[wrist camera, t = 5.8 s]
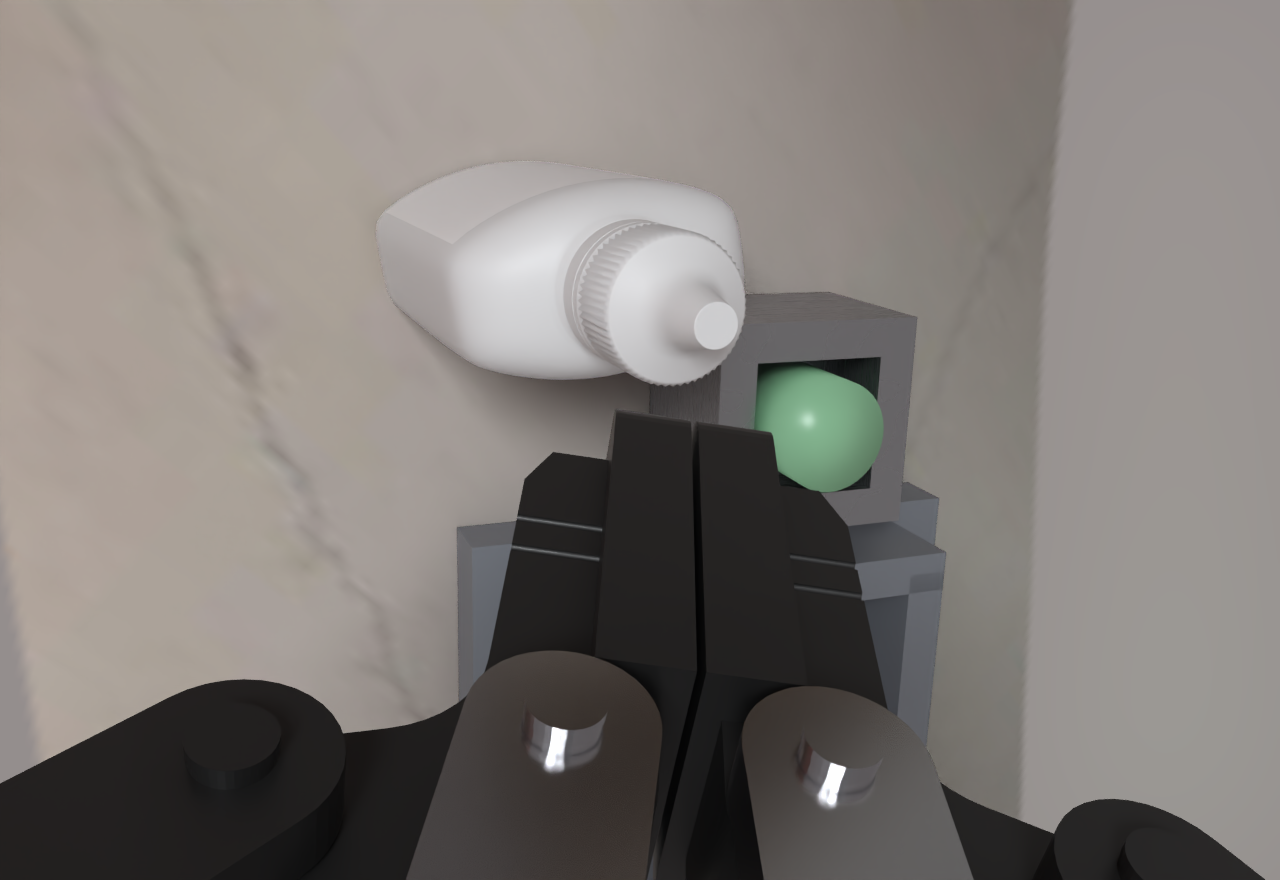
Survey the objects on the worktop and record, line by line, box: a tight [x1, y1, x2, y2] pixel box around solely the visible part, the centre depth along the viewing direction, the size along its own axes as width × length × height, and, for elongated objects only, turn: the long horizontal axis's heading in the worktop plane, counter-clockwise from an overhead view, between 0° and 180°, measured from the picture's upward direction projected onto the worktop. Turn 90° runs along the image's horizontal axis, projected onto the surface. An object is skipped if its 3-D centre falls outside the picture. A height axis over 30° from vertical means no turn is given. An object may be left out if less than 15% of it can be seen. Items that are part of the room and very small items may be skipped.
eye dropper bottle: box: [376, 161, 747, 387], centre depth 22 cm, size 4×6×12 cm
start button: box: [754, 361, 884, 492], centre depth 28 cm, size 3×3×3 cm
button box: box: [650, 292, 917, 526], centre depth 29 cm, size 5×5×4 cm
